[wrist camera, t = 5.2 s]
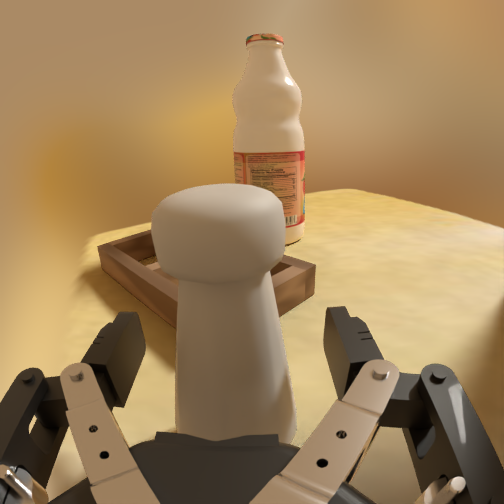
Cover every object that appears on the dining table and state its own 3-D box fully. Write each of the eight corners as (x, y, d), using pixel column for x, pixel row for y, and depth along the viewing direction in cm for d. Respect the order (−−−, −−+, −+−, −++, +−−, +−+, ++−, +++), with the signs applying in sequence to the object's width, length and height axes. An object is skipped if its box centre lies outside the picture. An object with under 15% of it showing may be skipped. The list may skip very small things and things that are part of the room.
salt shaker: (186, 493, 11) (94, 224, 7) (184, 411, 17) (139, 184, 12) (307, 478, 12) (342, 203, 7) (282, 400, 17) (284, 172, 13)
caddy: (179, 242, 44) (177, 221, 43) (314, 293, 29) (315, 264, 28) (102, 268, 36) (97, 246, 35) (214, 356, 22) (209, 322, 20)
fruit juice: (224, 236, 46) (214, 41, 36) (272, 222, 51) (266, 49, 41) (269, 253, 39) (261, 22, 29) (318, 235, 45) (314, 37, 34)
